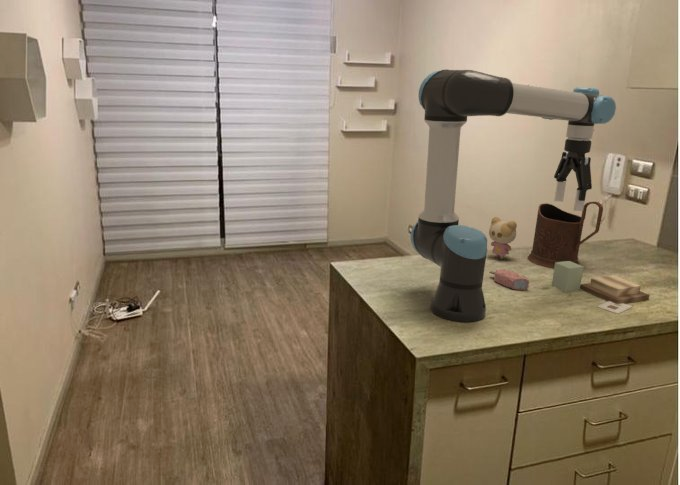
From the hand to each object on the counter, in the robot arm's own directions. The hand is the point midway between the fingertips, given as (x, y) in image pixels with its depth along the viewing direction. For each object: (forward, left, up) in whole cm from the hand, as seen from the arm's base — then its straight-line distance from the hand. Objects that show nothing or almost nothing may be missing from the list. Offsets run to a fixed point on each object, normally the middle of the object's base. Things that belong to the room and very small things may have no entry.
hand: (568, 205), depth 175 cm
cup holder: (+14, +13, -26) cm, 32 cm away
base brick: (+7, -16, -25) cm, 31 cm away
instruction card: (-2, -24, -25) cm, 35 cm away
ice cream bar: (-20, +2, -26) cm, 32 cm away
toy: (-4, +25, -25) cm, 35 cm away
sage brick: (-4, -7, -25) cm, 27 cm away
